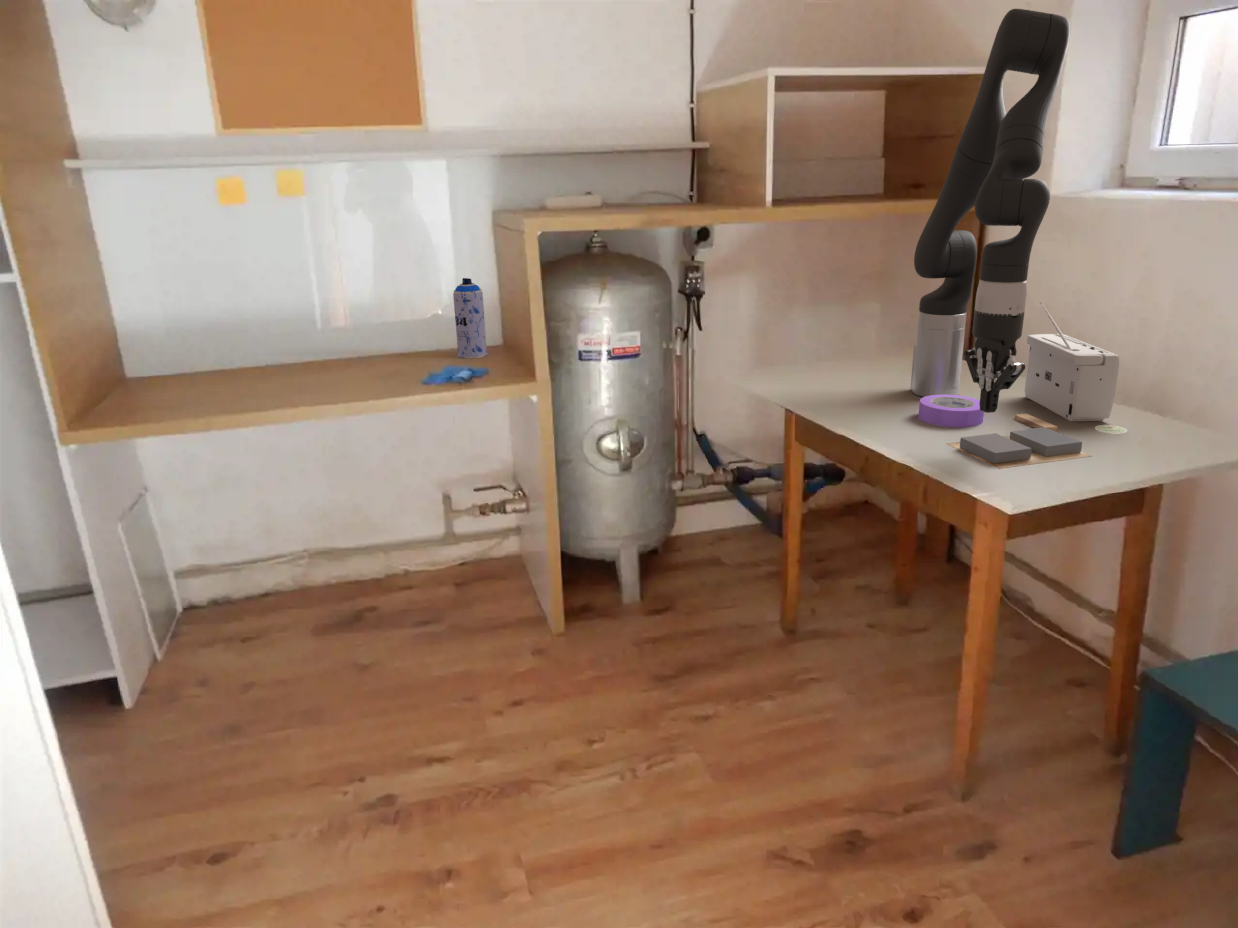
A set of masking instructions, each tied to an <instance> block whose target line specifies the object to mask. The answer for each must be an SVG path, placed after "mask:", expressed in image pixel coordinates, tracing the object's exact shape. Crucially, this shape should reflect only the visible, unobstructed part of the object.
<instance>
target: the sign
mask: <svg viewBox="0 0 1238 928" xmlns="http://www.w3.org/2000/svg"><path fill="white" fill-rule="evenodd" d="M1094 430H1096V431H1097V432H1100V433H1105V434H1110V435H1111V434H1112V435H1123V434H1127V433H1128V429H1127V428H1125V427H1121V426H1117V425H1114V424H1113V425H1112V424H1111V425H1109V424H1101V425H1100V424H1099V425H1096V426H1095V427H1094Z"/></svg>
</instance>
